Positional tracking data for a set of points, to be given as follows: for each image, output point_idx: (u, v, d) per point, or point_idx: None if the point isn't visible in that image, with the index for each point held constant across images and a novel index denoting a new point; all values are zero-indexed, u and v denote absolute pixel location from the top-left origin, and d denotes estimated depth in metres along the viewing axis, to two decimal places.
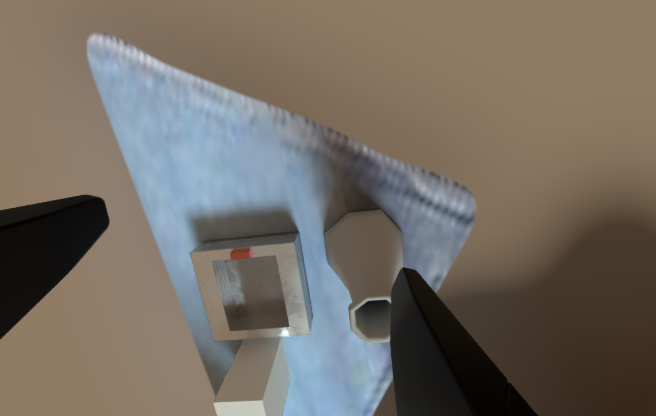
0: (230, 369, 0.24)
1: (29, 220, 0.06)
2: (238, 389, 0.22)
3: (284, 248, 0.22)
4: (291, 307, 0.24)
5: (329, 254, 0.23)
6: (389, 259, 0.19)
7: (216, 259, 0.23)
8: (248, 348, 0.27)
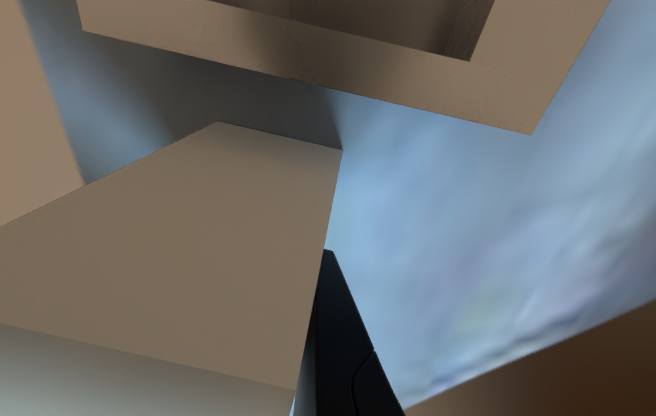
0: (130, 168, 0.05)
1: None
2: (133, 257, 0.03)
3: None
4: None
5: None
6: None
7: None
8: (228, 142, 0.07)
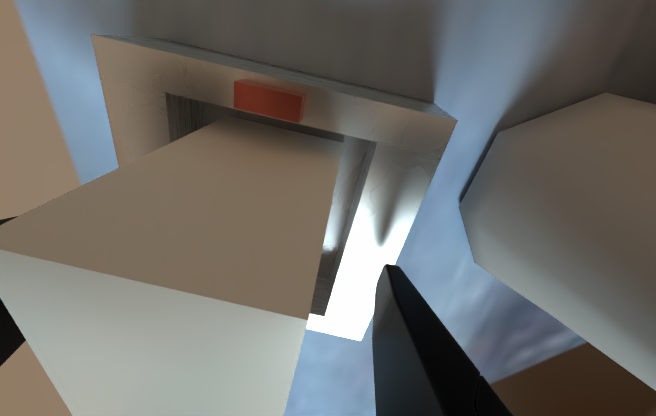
0: (155, 154, 0.06)
1: None
2: (168, 223, 0.04)
3: (415, 129, 0.07)
4: (348, 283, 0.10)
5: (501, 191, 0.09)
6: None
7: (183, 92, 0.07)
8: (238, 134, 0.08)
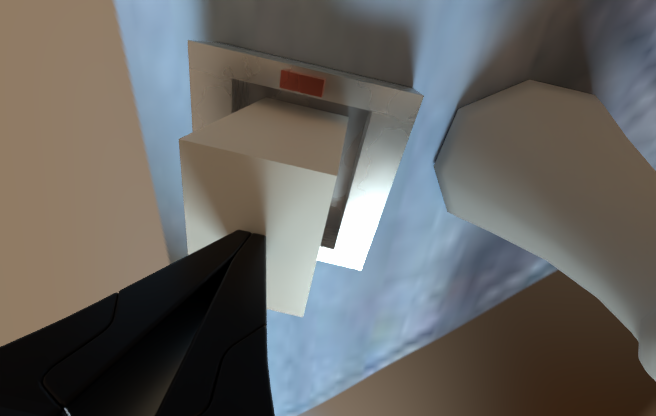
0: (235, 114, 0.09)
1: (220, 264, 0.06)
2: (259, 142, 0.08)
3: (397, 102, 0.10)
4: (351, 220, 0.13)
5: (459, 149, 0.12)
6: None
7: (244, 78, 0.11)
8: (277, 108, 0.11)
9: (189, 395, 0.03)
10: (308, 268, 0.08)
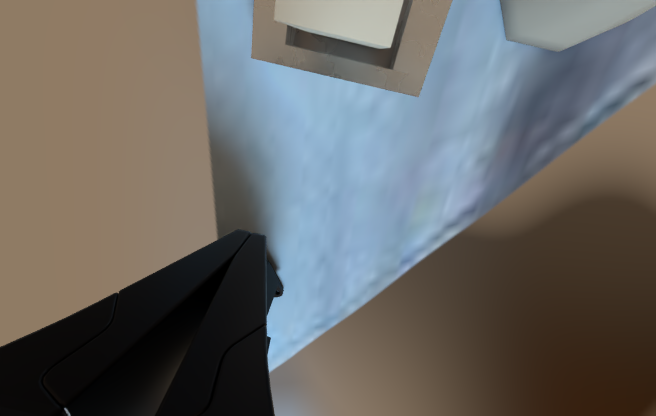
0: None
1: (219, 263, 0.06)
2: None
3: None
4: (415, 25, 0.13)
5: None
6: None
7: None
8: None
9: (189, 395, 0.03)
10: None
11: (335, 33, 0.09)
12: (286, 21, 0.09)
